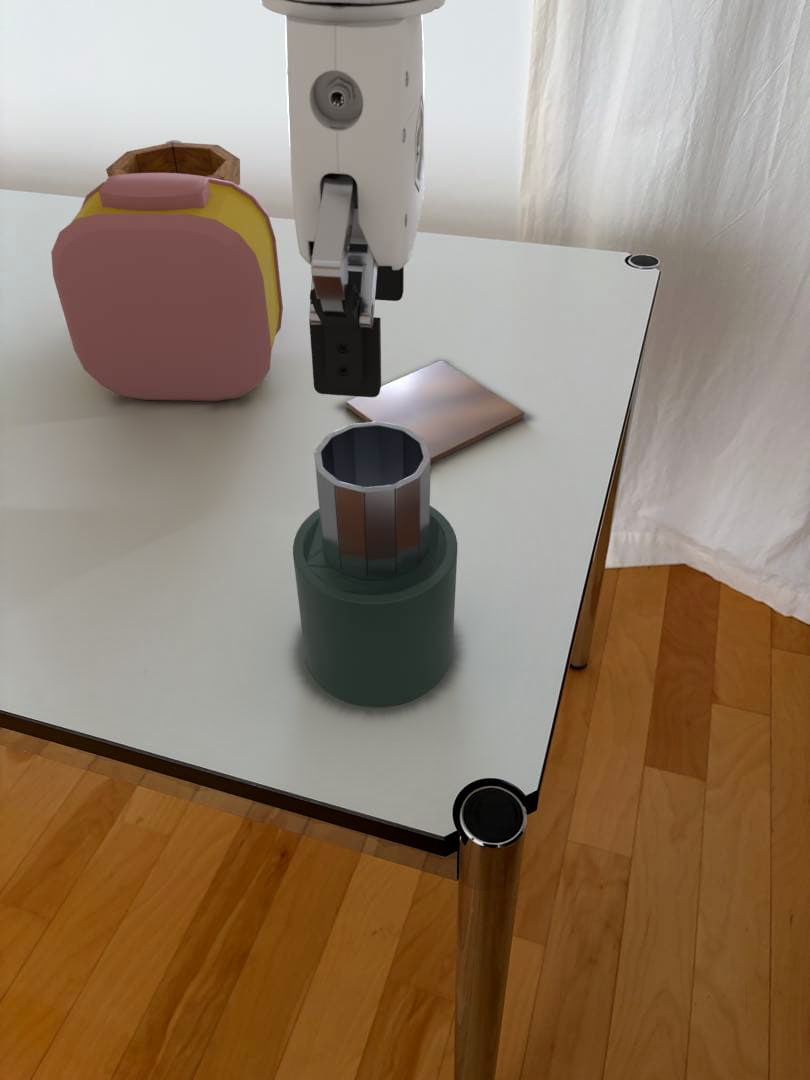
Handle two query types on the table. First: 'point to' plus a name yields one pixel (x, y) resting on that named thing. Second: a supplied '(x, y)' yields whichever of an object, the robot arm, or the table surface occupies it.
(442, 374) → the coaster mat
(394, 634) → the dark green cylinder
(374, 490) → the cup
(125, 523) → the table surface
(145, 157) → the mug
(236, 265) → the alarm clock
